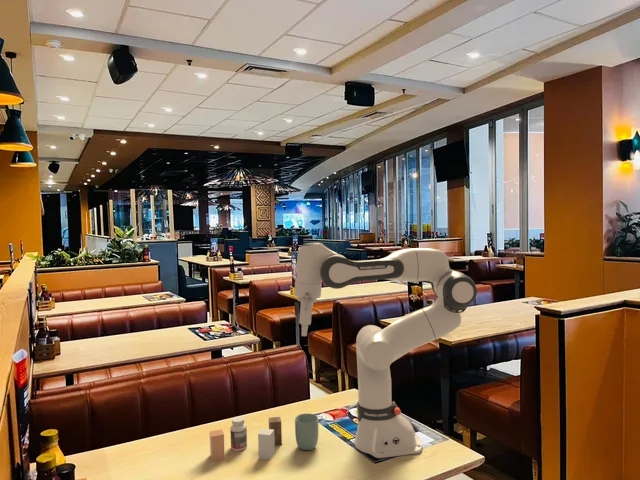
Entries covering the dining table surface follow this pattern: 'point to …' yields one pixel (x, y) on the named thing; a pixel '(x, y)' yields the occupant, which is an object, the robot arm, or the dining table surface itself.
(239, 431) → the pill bottle
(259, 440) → the grey block
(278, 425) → the walnut block
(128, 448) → the dining table surface
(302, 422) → the cup
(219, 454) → the terracotta block
